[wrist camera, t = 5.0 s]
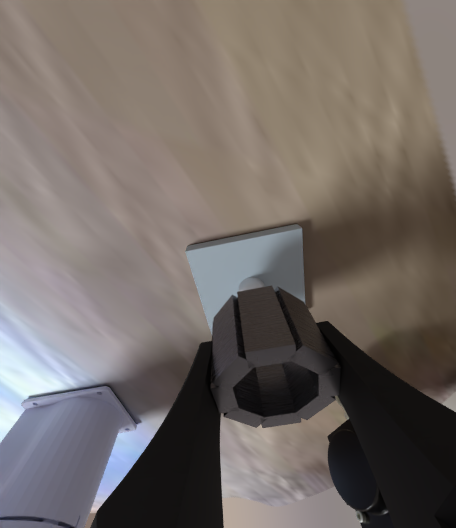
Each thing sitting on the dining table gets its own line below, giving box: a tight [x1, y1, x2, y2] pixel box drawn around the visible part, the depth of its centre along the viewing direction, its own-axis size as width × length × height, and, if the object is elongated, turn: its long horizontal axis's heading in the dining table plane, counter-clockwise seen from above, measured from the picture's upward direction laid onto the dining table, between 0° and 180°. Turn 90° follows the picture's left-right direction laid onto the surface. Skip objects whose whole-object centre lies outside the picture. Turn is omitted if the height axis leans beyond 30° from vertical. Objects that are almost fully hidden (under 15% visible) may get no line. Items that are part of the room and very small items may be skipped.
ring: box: [210, 286, 341, 428], centre depth 11 cm, size 5×5×4 cm
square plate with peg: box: [185, 224, 305, 334], centre depth 16 cm, size 8×8×4 cm
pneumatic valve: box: [328, 396, 394, 528], centre depth 19 cm, size 6×12×12 cm, turn 65°
